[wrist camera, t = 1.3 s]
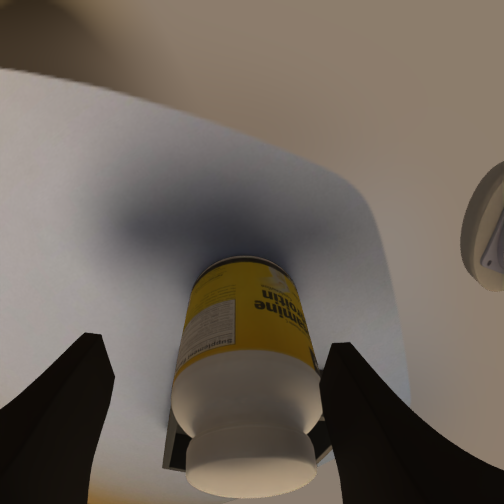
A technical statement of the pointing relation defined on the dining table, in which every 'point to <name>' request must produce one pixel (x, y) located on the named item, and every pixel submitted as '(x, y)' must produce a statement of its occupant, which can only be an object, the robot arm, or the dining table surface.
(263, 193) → the dining table surface
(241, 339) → the pill bottle
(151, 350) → the dining table surface
